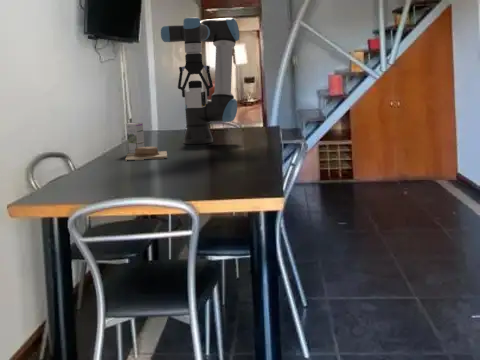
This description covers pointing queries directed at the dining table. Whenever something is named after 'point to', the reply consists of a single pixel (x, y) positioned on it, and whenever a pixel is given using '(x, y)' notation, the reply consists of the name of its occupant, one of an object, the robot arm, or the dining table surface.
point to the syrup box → (135, 136)
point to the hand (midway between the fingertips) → (196, 104)
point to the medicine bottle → (195, 95)
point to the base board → (161, 156)
